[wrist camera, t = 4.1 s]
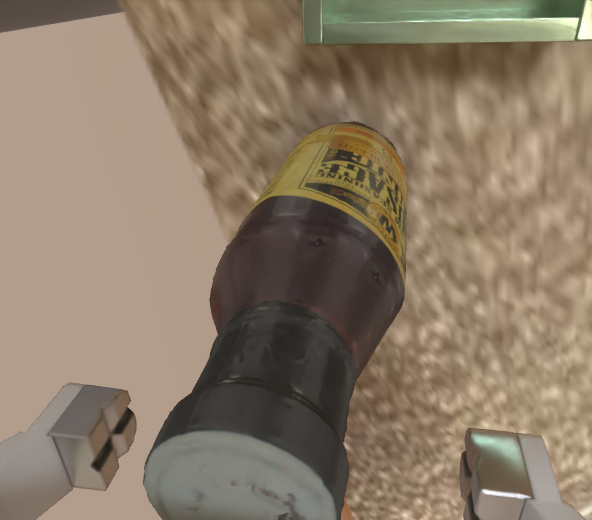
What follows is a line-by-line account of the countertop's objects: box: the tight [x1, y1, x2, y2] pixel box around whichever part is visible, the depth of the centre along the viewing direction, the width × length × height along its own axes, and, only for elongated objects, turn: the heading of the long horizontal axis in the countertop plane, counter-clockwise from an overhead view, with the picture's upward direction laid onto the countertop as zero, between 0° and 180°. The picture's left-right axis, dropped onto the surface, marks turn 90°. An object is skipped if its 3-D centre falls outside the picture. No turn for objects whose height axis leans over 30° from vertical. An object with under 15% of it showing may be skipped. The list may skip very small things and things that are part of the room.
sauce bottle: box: [143, 121, 407, 520], centre depth 18 cm, size 7×6×20 cm
